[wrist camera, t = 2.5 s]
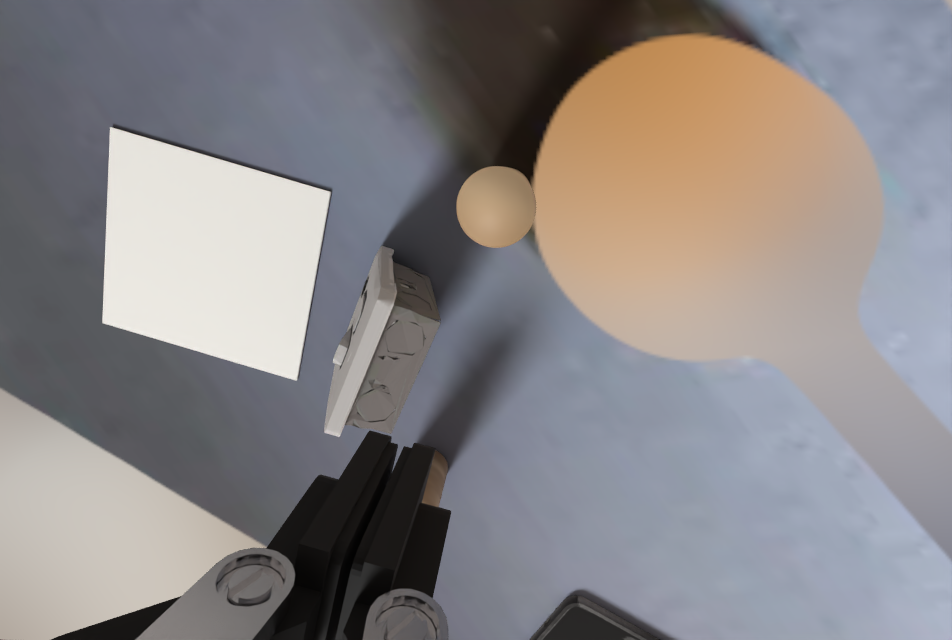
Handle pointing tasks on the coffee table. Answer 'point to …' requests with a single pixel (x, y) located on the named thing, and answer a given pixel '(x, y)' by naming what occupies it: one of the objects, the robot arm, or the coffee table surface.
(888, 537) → the coffee table surface
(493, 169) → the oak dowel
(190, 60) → the coffee table surface
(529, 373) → the coffee table surface
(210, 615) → the robot arm
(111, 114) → the coffee table surface
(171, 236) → the mat
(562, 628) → the phone
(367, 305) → the electrical switch
